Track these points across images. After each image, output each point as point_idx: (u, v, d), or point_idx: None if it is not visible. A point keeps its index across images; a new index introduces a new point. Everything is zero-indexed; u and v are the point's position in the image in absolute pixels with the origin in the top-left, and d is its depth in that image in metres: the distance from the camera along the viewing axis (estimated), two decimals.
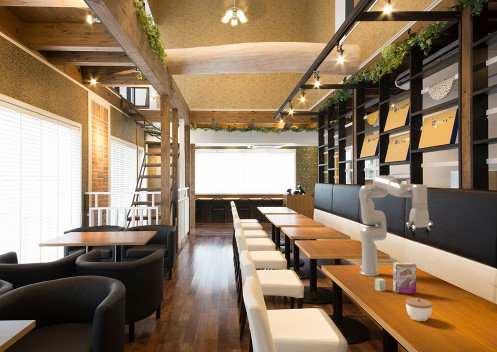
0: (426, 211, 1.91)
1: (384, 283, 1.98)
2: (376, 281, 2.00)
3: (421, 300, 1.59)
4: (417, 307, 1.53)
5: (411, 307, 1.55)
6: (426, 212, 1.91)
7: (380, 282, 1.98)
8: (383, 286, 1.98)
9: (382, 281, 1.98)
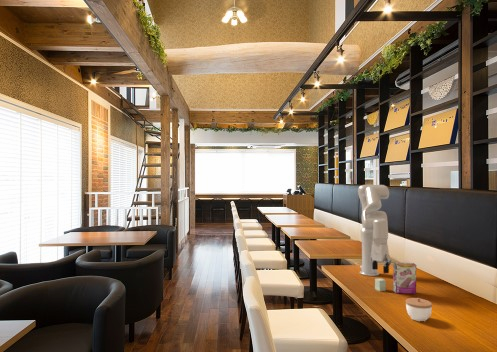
0: None
1: (384, 283, 1.98)
2: (376, 281, 2.00)
3: (421, 300, 1.59)
4: (417, 307, 1.53)
5: (411, 307, 1.55)
6: None
7: (380, 282, 1.97)
8: (383, 286, 1.98)
9: (382, 281, 1.98)
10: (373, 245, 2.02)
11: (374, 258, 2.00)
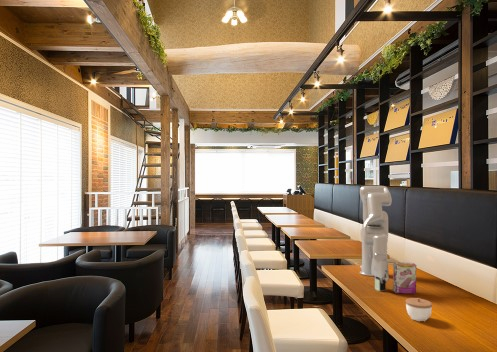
0: None
1: None
2: (376, 281, 2.00)
3: (421, 300, 1.59)
4: (417, 307, 1.53)
5: (411, 307, 1.55)
6: None
7: (380, 282, 1.98)
8: None
9: None
10: (373, 260, 2.02)
11: (374, 274, 2.01)
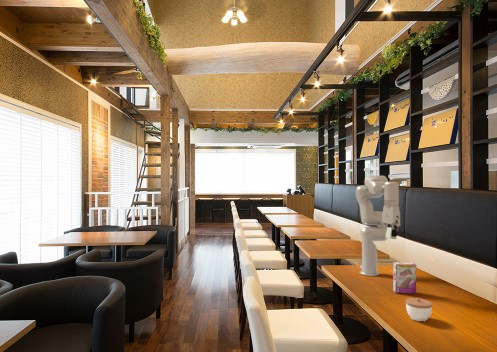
0: None
1: None
2: (388, 229, 1.98)
3: (421, 300, 1.59)
4: (417, 307, 1.53)
5: (411, 307, 1.55)
6: None
7: None
8: None
9: None
10: (384, 208, 2.00)
11: (385, 221, 1.99)
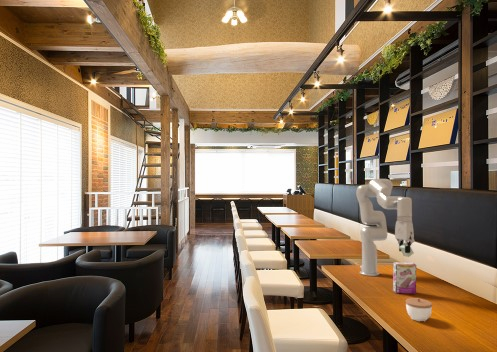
0: None
1: None
2: (401, 249, 1.95)
3: (421, 300, 1.59)
4: (417, 307, 1.53)
5: (411, 307, 1.55)
6: None
7: None
8: (410, 251, 1.94)
9: None
10: (397, 223, 1.97)
11: (398, 237, 1.96)
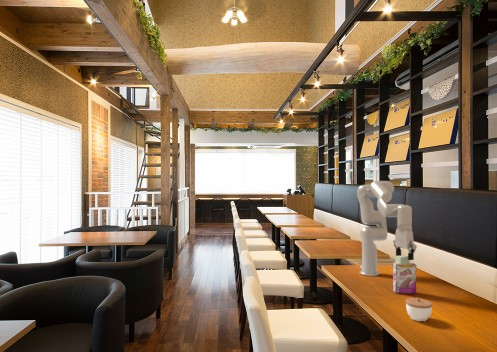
0: None
1: (403, 258, 1.92)
2: None
3: (421, 300, 1.59)
4: (417, 307, 1.53)
5: (411, 307, 1.55)
6: None
7: (402, 263, 1.92)
8: (405, 259, 1.93)
9: (401, 261, 1.92)
10: (397, 231, 1.97)
11: (398, 245, 1.96)
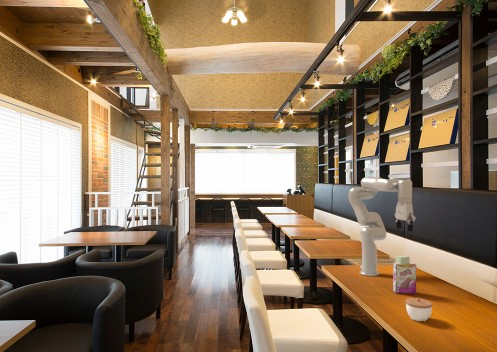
0: None
1: (403, 258, 1.92)
2: None
3: (421, 300, 1.59)
4: (417, 307, 1.53)
5: (411, 307, 1.55)
6: None
7: (402, 263, 1.92)
8: (406, 259, 1.93)
9: (401, 260, 1.92)
10: (397, 205, 2.08)
11: (398, 217, 2.07)
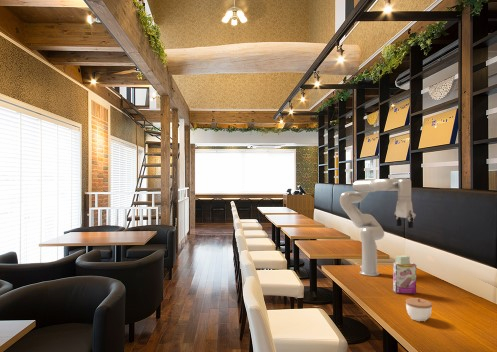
0: None
1: (403, 258, 1.93)
2: None
3: (421, 300, 1.59)
4: (417, 307, 1.53)
5: (411, 307, 1.55)
6: None
7: (402, 263, 1.92)
8: (406, 259, 1.93)
9: (401, 260, 1.92)
10: (398, 203, 2.17)
11: (399, 215, 2.16)
